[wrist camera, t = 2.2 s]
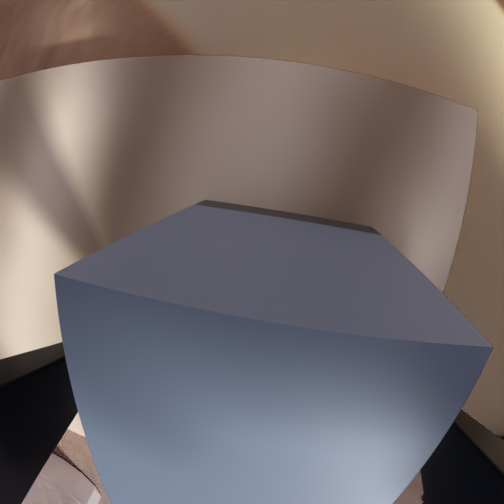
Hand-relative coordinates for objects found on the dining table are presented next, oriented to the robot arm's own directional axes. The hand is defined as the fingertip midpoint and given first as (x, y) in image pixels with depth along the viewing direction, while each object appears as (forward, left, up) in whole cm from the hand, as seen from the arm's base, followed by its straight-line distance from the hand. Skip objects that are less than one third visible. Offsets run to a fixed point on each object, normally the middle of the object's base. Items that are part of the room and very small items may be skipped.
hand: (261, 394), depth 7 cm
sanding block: (0, 0, -2) cm, 2 cm away
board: (+5, 0, -4) cm, 6 cm away
